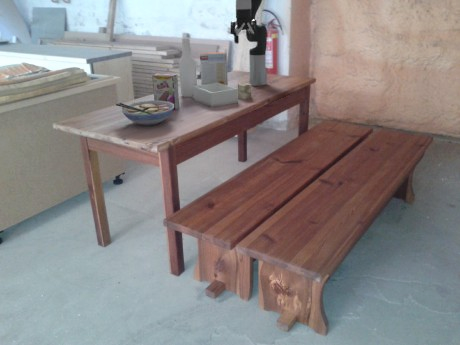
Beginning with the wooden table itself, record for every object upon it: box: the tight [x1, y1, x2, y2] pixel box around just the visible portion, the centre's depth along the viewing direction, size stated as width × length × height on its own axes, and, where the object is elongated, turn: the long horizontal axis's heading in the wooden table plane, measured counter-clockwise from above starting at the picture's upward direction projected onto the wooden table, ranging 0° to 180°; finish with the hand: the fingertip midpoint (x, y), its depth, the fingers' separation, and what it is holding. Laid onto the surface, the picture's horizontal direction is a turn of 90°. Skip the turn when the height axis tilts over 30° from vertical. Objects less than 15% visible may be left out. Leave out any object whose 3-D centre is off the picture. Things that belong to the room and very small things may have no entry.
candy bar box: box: [152, 73, 180, 111], centre depth 217 cm, size 11×5×16 cm, turn 71°
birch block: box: [237, 82, 252, 100], centre depth 235 cm, size 5×5×7 cm
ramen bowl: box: [115, 99, 174, 126], centre depth 196 cm, size 25×23×8 cm
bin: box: [192, 83, 239, 108], centre depth 230 cm, size 15×19×7 cm
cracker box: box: [199, 51, 229, 86], centre depth 248 cm, size 14×6×21 cm, turn 84°
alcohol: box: [178, 37, 198, 98], centre depth 238 cm, size 9×9×30 cm
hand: (243, 42), depth 226 cm, fingers open, 8 cm apart
